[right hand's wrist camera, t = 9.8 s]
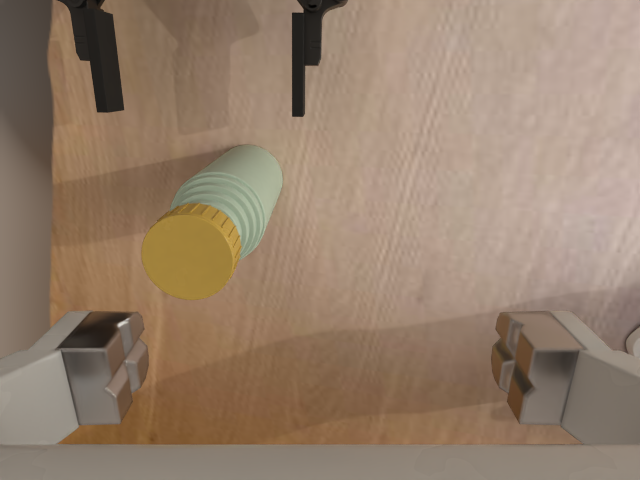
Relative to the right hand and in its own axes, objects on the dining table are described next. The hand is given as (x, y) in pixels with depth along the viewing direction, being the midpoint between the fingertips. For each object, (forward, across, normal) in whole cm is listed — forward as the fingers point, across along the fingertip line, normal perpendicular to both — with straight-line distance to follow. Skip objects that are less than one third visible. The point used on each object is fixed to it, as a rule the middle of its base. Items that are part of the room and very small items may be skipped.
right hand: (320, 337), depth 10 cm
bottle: (+31, -6, -4) cm, 32 cm away
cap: (+12, -7, -3) cm, 14 cm away
